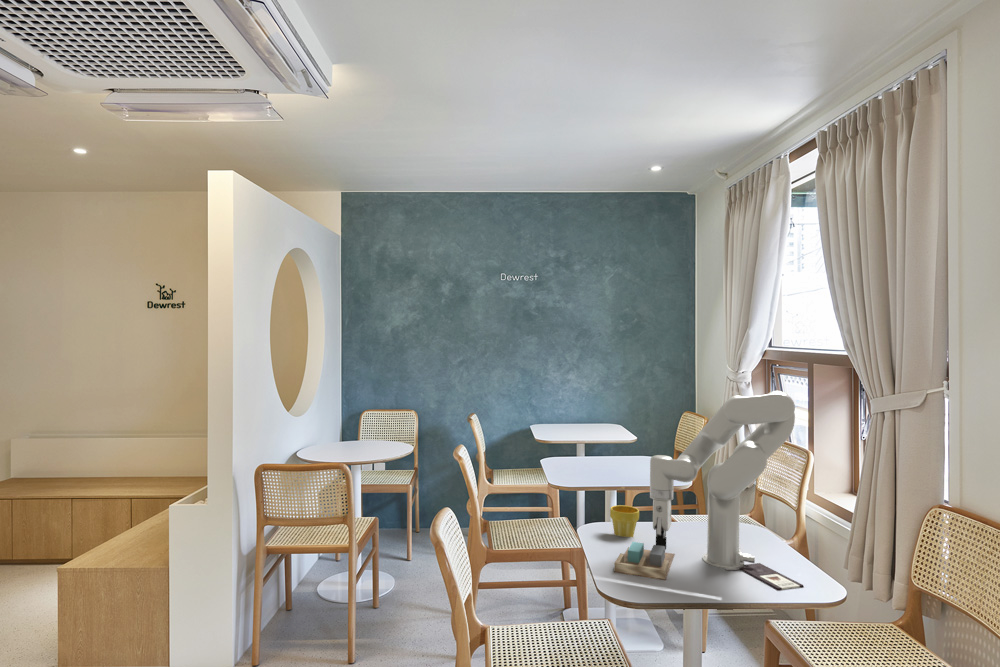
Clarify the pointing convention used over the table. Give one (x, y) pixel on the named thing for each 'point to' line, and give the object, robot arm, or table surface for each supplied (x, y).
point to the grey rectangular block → (657, 555)
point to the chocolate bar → (770, 577)
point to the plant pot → (624, 520)
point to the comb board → (643, 566)
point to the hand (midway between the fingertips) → (660, 549)
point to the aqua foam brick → (635, 552)
